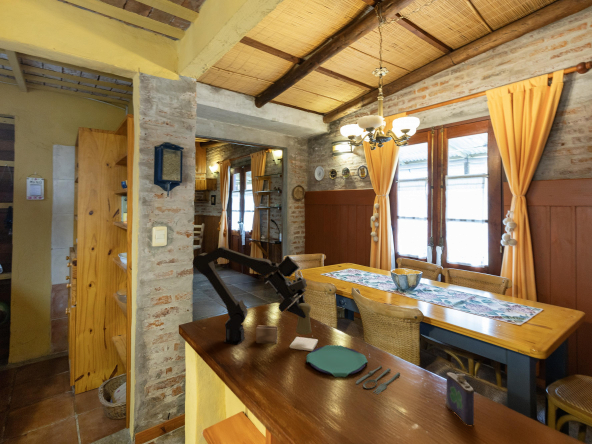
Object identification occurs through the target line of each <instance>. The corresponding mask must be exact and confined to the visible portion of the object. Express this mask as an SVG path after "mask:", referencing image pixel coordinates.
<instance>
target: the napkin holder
mask: <svg viewBox="0 0 592 444" xmlns="http://www.w3.org/2000/svg"><path fill="white" fill-rule="evenodd" d="M255 330H256V331H255V333H256V334H255V335H256V336H255V337H256V339H255V342H256V344H271V345H276V344H277V343H278V326H277V325H259V324H258V325H257V327H256V329H255Z"/></svg>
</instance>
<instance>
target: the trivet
mask: <svg viewBox="0 0 592 444" xmlns="http://www.w3.org/2000/svg"><path fill="white" fill-rule="evenodd" d="M318 342H319V339H316V338H310V337H301V336H300V337H299V336H296V337H295V338H294V340H292V342H291V344H290V345H289V349H294V350H295V349H296V350H301V351H303V350H304V351H309V352H312V351H313V350H315V349H316V348H315V347H316V346H317V344H318Z"/></svg>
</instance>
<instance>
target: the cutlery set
mask: <svg viewBox="0 0 592 444" xmlns="http://www.w3.org/2000/svg"><path fill="white" fill-rule="evenodd" d="M305 357H306V364H308V363H309V364H310V366H311V367H312V368H314V369H315V370H317V371H319V372H321V373H325V374H327V375H333V376H334V377H335V378H337V377H338V378H346V377H348V375H354V374H356V373H358V372H361V371H362V370H363V369H364V368H365V367H366V365H367V364H369V362H368V359H367V356H366V355H365V354H363V353H362V352H359V351H357V350H355V349H353V348H350V347H347V346H344V345H341V344H339V345H338V344H337V345H335V344H332V345H331V344H328V345H327V344H325V345H324V346H320V347H318V348H317V347H316V348H314V349H313V351H310V352H309V353H308V354H307V355H306V356H305ZM382 366H383V365H380V366H378V367H377V368H375V369H373V370H370V371H368V372H367V374H364V375H363V376H362V377H361V378H359V379H357V380H356V382H355V384H356V385H358V384H360V383H361V382H363V381H364V380H365V379H367V378H369V377H372V375H374V374H375V372H376V371H379V369H381V368H383V367H382ZM391 370H392V369H391V368H389V367H387V369H385V370H384V371H383V372H382V373H381V374H380V375H379V376H378V377H376V379H368V380H366V381H365V382H364V383H362V384H363V385H362V386H363V388H365V389H369V387H366V385H367V384H368V383H374V382H375V383H376V384H375V383H374V384H375V385H374V386H372V387H370V389H373V388H376V389H375V390H373V391H372V393H374V394H375V395H379V394H380V393H382V392H383V391H384V390H386V389H387V387H388V385H389V383H390V384H391V383H392V382H393V381H395V380H396V379H397V378H398V377H400V376H401V373H400V372H398V371H397V373H395V374H394V375H393V376H392V377H391V378H390V379H389V380H387V381H385V382H383V383H380V384H379V385H378V382H377V381H378V380H379V379H381V378H383V376H384V375H387V374H388V373H389V372H391ZM365 384H366V385H365ZM377 385H378V386H377ZM376 386H377V387H376ZM375 391H376V392H375Z"/></svg>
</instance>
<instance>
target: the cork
mask: <svg viewBox="0 0 592 444" xmlns="http://www.w3.org/2000/svg"><path fill="white" fill-rule="evenodd" d="M299 306H300V307H301V309H302V310H303V312H304V313H305V315H306V317H305V318H302V317H300V316H298V315H297V322H296V329H295V332H296V333H297V334H299V335H309V334H311V333H312V326H311V319H310V318H311V317H310V313H309V312H311V308H312V307H311V305H310V304H309V303H307V302H305V303H300V304H299Z"/></svg>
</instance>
